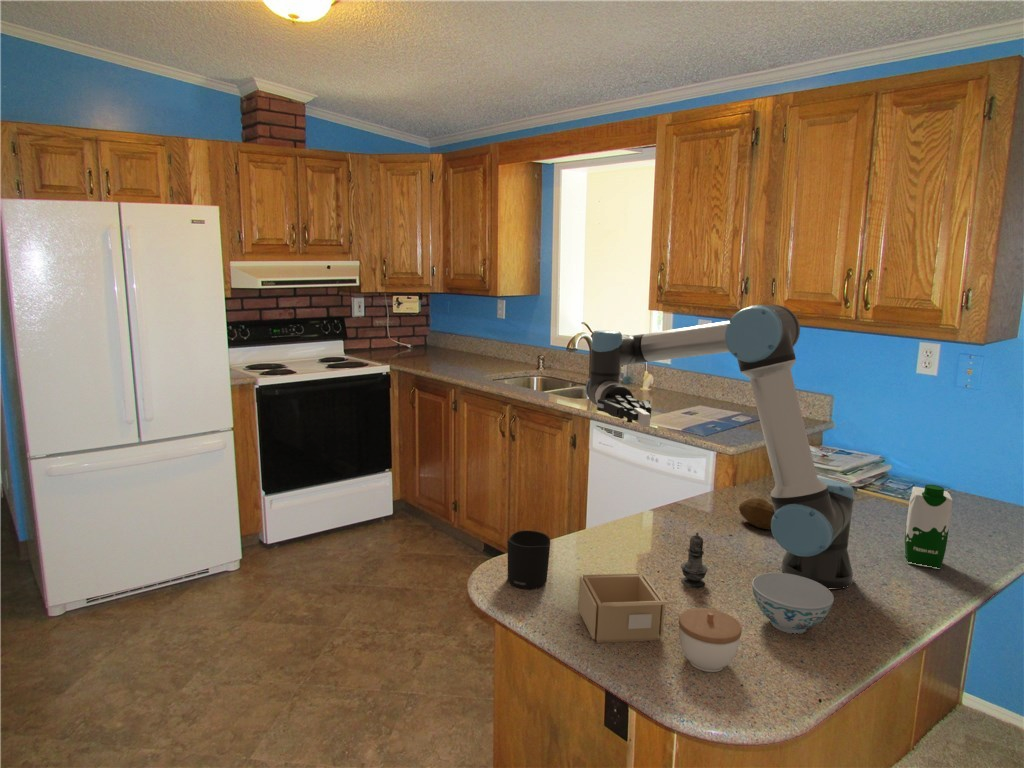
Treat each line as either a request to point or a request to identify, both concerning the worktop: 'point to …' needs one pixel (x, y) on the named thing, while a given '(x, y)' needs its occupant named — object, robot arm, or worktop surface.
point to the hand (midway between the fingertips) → (646, 420)
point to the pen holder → (528, 559)
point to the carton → (620, 608)
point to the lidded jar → (709, 638)
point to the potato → (757, 512)
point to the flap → (638, 603)
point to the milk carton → (928, 525)
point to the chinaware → (791, 601)
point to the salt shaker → (694, 564)
